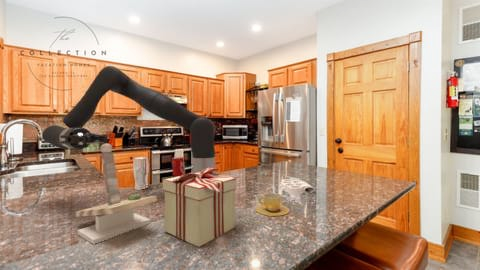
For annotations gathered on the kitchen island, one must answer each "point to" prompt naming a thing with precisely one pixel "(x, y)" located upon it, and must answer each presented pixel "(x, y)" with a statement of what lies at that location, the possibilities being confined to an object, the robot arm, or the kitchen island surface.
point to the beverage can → (178, 166)
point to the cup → (271, 205)
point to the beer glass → (140, 172)
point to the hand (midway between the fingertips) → (97, 139)
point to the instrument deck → (115, 207)
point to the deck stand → (112, 225)
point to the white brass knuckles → (295, 187)
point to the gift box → (199, 206)
